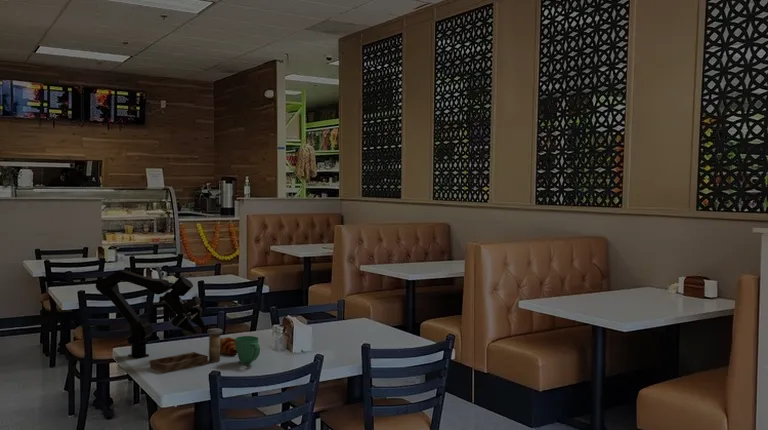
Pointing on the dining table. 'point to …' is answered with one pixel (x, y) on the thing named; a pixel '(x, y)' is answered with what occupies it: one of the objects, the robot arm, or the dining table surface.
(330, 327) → the dining table surface
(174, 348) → the dining table surface
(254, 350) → the mug
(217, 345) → the peg
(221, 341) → the croissant
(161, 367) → the tray
